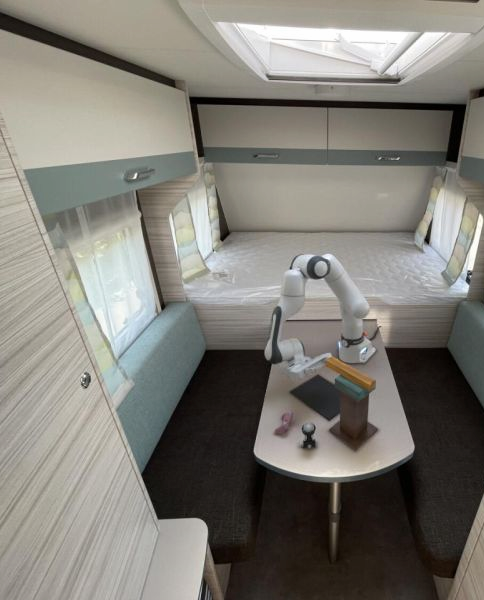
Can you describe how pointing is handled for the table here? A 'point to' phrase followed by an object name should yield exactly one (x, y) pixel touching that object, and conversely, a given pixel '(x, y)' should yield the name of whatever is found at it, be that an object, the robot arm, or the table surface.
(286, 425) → the pink irregular piece
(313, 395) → the mat
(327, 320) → the table surface
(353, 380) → the ochre bar
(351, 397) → the stand
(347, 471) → the table surface
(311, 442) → the black silver upright piece
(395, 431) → the table surface
